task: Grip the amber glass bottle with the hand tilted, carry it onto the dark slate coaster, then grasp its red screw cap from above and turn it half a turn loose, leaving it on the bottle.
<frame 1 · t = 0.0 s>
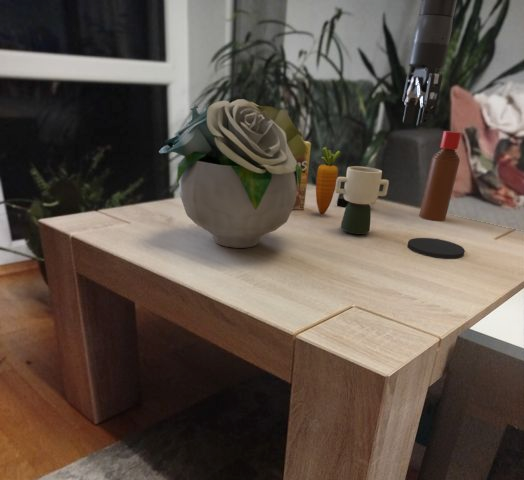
hand: (414, 125, 114), 21 cm above the table, tool pointing down, fingers open, 8 cm apart
candy box: (284, 208, 123), on the table
coaster: (435, 249, 100), on the table
cap: (451, 133, 116), point 19 cm above the table, screwed on, not yet turned
carrot: (321, 216, 119), on the table
bottle: (432, 217, 125), on the table
character mug: (354, 233, 107), on the table
vhs tape: (352, 202, 134), on the table
flower arrangement: (236, 243, 95), on the table
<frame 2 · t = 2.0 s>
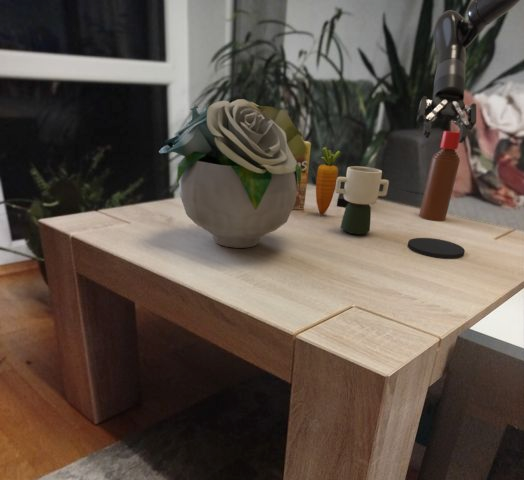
hand: (444, 138, 126), 18 cm above the table, tool tilted 40°, fingers open, 8 cm apart
nothing on the table moved.
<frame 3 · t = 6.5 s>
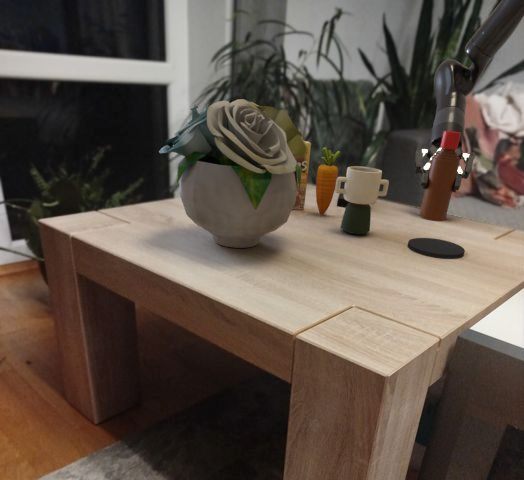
hand: (439, 188, 120), 7 cm above the table, tool tilted 45°, fingers closed on bottle, 6 cm apart
bottle: (432, 217, 125), on the table, touching gripper
everything else where it was.
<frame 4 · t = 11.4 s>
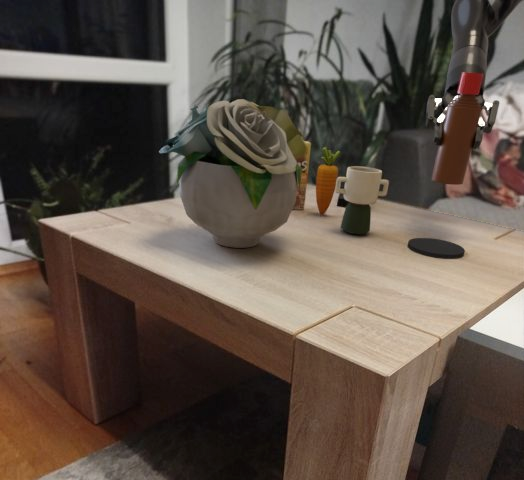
hand: (456, 144, 99), 19 cm above the table, tool tilted 45°, fingers closed on bottle, 6 cm apart
cap: (472, 74, 95), point 31 cm above the table, screwed on, not yet turned
bottle: (446, 181, 104), point 12 cm above the table, touching gripper
everything else where it was.
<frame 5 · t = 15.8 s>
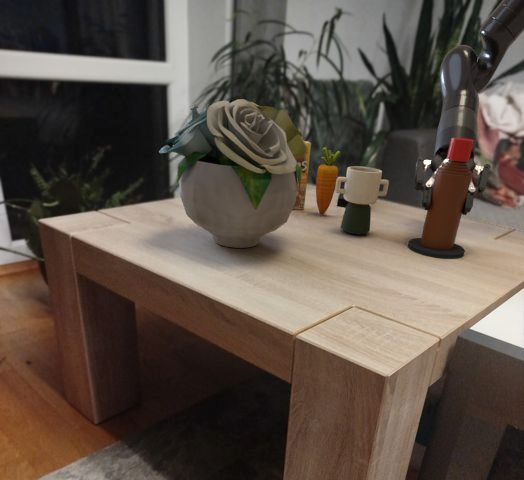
hand: (446, 210, 95), 8 cm above the table, tool tilted 45°, fingers closed on bottle, 6 cm apart
cap: (462, 140, 91), point 20 cm above the table, screwed on, not yet turned
bottle: (436, 245, 100), point 1 cm above the table, touching coaster, gripper
everything else where it was.
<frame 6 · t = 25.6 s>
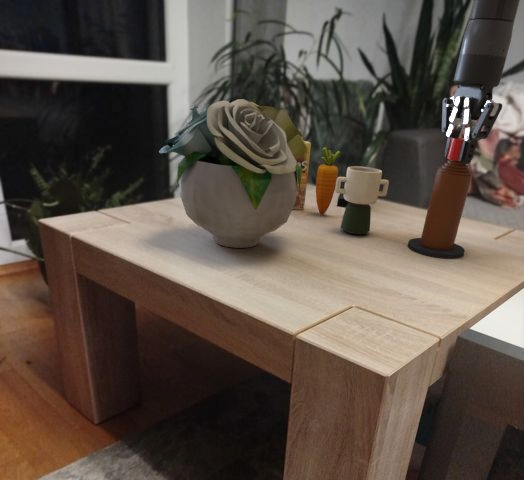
hand: (456, 160, 92), 17 cm above the table, tool pointing down, fingers closed on cap, 4 cm apart
cap: (462, 140, 91), point 20 cm above the table, screwed on, not yet turned, touching gripper
bottle: (436, 245, 100), point 1 cm above the table, touching coaster
everything else where it was.
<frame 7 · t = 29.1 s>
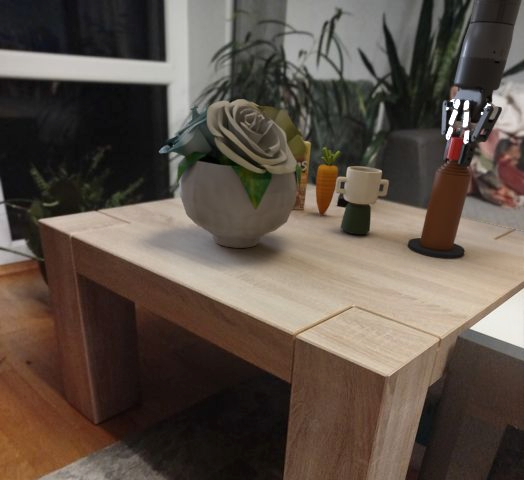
hand: (456, 163, 92), 16 cm above the table, tool pointing down, fingers closed on cap, 4 cm apart
cap: (461, 139, 90), point 20 cm above the table, turned 176° so far, risen 0.2 cm, still on its thread, touching gripper
bottle: (435, 245, 100), point 1 cm above the table, touching coaster, gripper
everything else where it was.
when the fingers open (16 cm above the table, at t = 30.7 s): cap stays where it is, point 20 cm above the table.
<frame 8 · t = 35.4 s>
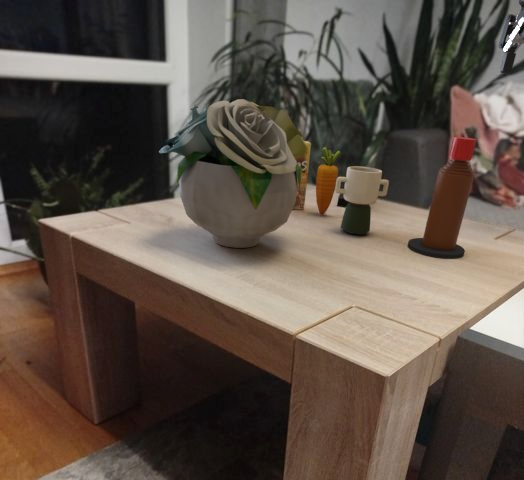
hand: (519, 73, 101), 32 cm above the table, tool pointing down, fingers open, 8 cm apart
cap: (464, 140, 91), point 20 cm above the table, turned 176° so far, risen 0.2 cm, still on its thread
bottle: (438, 245, 100), point 1 cm above the table, touching coaster
everything else where it was.
at the end: bottle 0.5 cm off-centre on the coaster, point 0.8 cm above the coaster's base; cap turned 0.49 turns (still on its thread); cap is still on its thread (0.49 turns) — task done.
